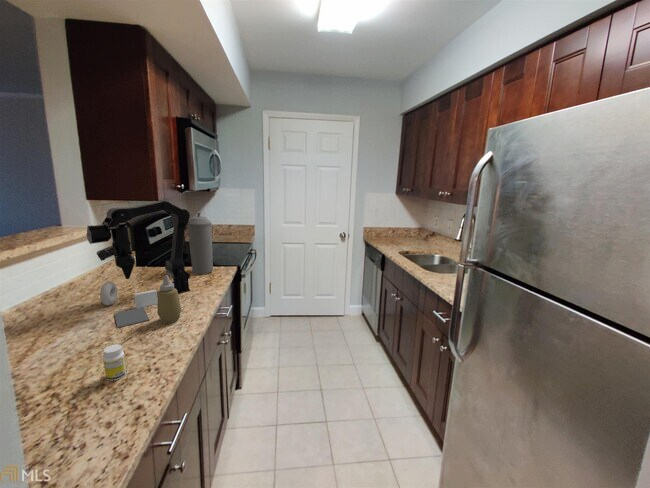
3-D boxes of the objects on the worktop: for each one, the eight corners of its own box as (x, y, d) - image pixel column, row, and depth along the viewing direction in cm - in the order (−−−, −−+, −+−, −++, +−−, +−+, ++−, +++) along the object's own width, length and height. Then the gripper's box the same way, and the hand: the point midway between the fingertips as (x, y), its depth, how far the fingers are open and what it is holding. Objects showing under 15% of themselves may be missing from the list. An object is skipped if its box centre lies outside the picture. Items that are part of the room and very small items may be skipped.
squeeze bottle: (186, 317, 115) (183, 273, 111) (170, 326, 107) (165, 280, 103) (170, 314, 117) (166, 271, 113) (153, 323, 110) (148, 277, 106)
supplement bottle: (113, 370, 82) (109, 343, 81) (130, 369, 83) (127, 343, 81) (101, 381, 78) (97, 353, 76) (120, 381, 78) (116, 353, 76)
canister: (206, 267, 179) (202, 210, 171) (219, 271, 171) (215, 212, 164) (186, 272, 168) (181, 212, 161) (198, 277, 161) (194, 213, 154)
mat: (143, 307, 122) (143, 307, 122) (149, 320, 111) (149, 319, 111) (114, 314, 116) (114, 313, 116) (117, 328, 105) (117, 327, 105)
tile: (157, 302, 128) (155, 289, 126) (157, 303, 126) (156, 290, 125) (135, 307, 123) (133, 293, 121) (136, 308, 121) (134, 295, 120)
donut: (109, 309, 120) (106, 286, 118) (100, 309, 119) (96, 286, 117) (120, 299, 130) (117, 278, 128) (111, 300, 129) (108, 278, 127)
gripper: (96, 237, 121) (102, 273, 124) (96, 246, 106) (103, 286, 110) (128, 234, 127) (133, 268, 131) (132, 242, 113) (137, 280, 117)
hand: (126, 275), depth 122 cm, fingers open, 9 cm apart
